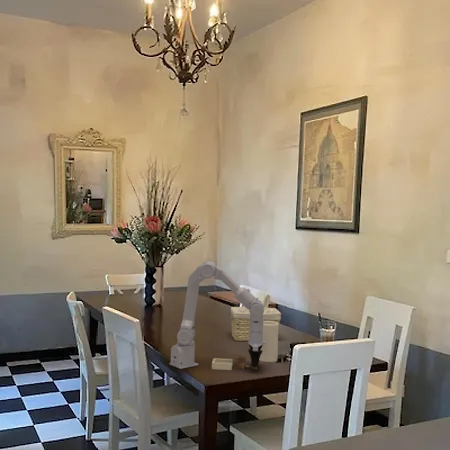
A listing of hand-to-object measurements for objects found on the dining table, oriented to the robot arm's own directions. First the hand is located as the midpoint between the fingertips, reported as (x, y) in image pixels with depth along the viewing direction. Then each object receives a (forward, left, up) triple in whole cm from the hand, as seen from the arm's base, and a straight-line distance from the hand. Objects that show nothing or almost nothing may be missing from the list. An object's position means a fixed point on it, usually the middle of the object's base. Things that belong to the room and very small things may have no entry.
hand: (255, 364), depth 217 cm
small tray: (-9, +9, -2) cm, 13 cm away
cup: (+14, +7, -2) cm, 16 cm away
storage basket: (+37, +38, -2) cm, 53 cm away
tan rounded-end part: (-2, +3, -2) cm, 4 cm away
